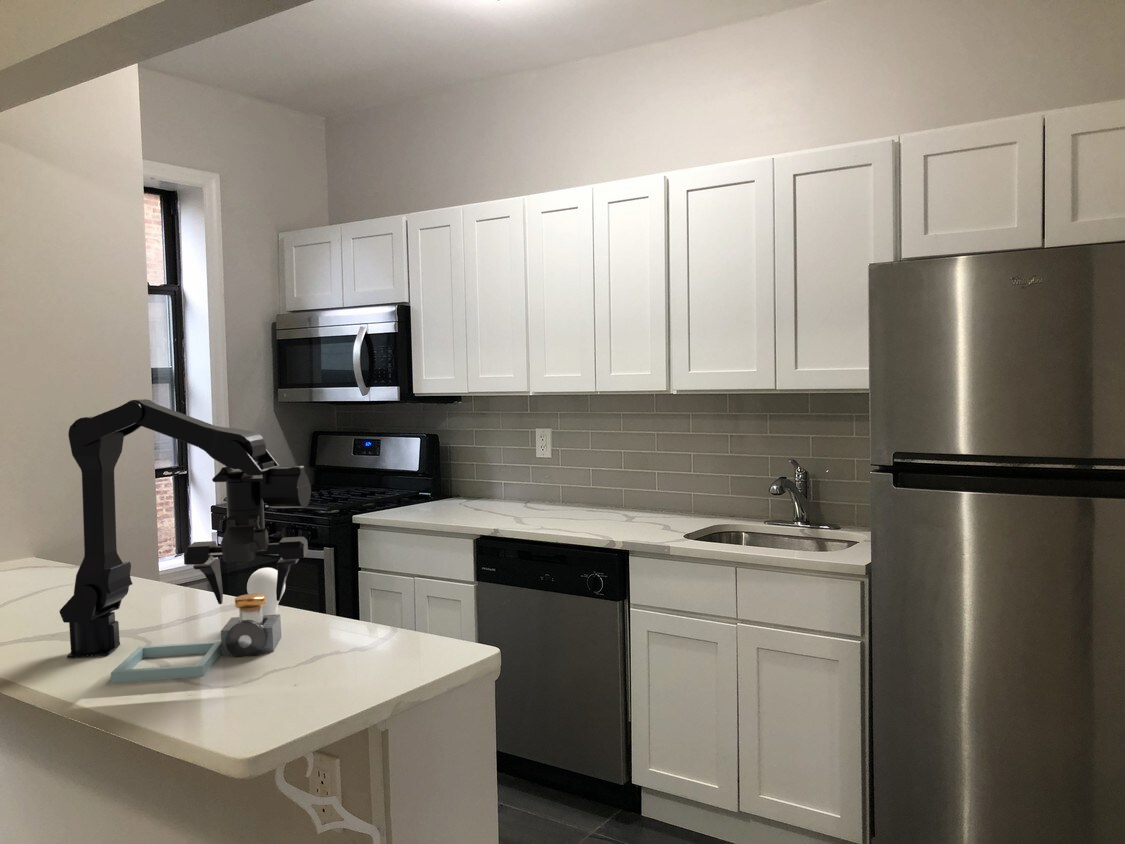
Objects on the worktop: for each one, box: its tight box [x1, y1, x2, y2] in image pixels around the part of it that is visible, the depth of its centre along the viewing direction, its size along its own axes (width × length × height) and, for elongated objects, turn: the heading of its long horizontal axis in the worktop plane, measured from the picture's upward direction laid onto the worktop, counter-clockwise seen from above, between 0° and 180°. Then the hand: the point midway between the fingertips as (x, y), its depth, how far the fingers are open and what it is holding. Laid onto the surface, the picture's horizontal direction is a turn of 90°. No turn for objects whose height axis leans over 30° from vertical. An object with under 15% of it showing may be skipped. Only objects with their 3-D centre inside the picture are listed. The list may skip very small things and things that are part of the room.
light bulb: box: [246, 567, 286, 615], centre depth 164 cm, size 7×7×11 cm
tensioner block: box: [220, 613, 282, 658], centre depth 149 cm, size 8×10×6 cm
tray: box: [110, 640, 222, 684], centre depth 141 cm, size 13×13×2 cm
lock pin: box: [234, 593, 266, 625], centre depth 150 cm, size 5×5×8 cm
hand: (249, 602), depth 150 cm, fingers open, 9 cm apart
